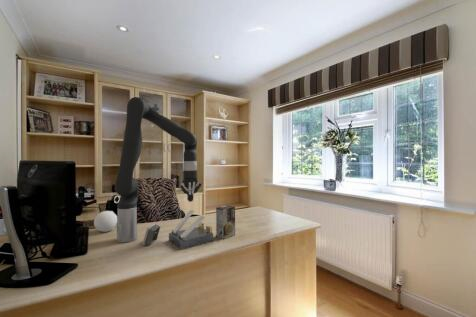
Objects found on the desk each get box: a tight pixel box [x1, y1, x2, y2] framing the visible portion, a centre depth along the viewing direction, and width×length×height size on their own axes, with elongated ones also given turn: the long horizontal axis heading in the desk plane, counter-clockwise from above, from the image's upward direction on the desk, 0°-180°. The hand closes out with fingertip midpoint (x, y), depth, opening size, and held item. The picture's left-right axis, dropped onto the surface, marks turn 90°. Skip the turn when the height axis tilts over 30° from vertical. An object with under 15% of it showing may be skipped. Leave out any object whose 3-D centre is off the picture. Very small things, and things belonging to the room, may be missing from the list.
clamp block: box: [168, 221, 214, 251], centre depth 120 cm, size 18×15×7 cm
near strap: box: [180, 215, 205, 239], centre depth 116 cm, size 15×3×1 cm
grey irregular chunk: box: [142, 222, 161, 246], centre depth 118 cm, size 9×5×9 cm, turn 176°
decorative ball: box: [93, 210, 118, 233], centre depth 136 cm, size 12×12×12 cm
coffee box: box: [215, 204, 236, 240], centre depth 128 cm, size 9×6×16 cm
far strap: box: [173, 208, 195, 234], centre depth 122 cm, size 15×3×1 cm
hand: (190, 201), depth 125 cm, fingers closed
